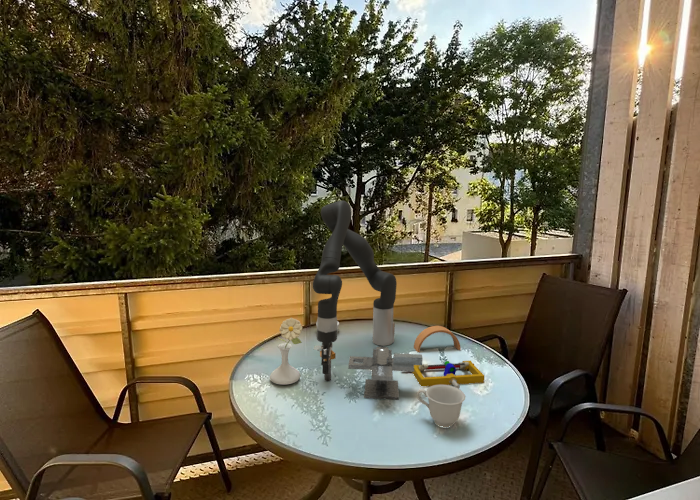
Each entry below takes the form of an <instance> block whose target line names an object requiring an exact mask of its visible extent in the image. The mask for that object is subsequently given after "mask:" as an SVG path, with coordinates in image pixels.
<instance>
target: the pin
mask: <svg viewBox="0 0 700 500" xmlns="http://www.w3.org/2000/svg"><path fill="white" fill-rule="evenodd" d="M321 352H322V351H319V357H320V358H321V359H322V357H321ZM336 357H337V356H336V352H335V351H334V350H332V351H331V358H330V359H329V373H328V374H323V375H324V377H323V378H324V381H325V382H331V381H332V360H335V359H336ZM324 361H327V359H324Z"/></svg>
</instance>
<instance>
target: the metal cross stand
mask: <svg viewBox="0 0 700 500" xmlns="http://www.w3.org/2000/svg"><path fill="white" fill-rule="evenodd" d="M414 365H423V354H415V353H393V352H392V349H390V348H389V347H387V346H381V345H378V346H377V347H376V348H372V356H356V355H355V356H351V355H350V356H349V359H348V367H347V369H349V370H365V371H366V370H369V371H371V379H369V378H368V379H366V378H365V381H364V393H363V399H371V400H373V399H374V400H375V399H376V400H389V401H390V400H393V401H399V400H400V396H399V380H394V379H393V378H394V375H393V372H411V373H412V372H414Z"/></svg>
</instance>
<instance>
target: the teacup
mask: <svg viewBox="0 0 700 500" xmlns="http://www.w3.org/2000/svg"><path fill="white" fill-rule="evenodd" d="M420 394H423V395H424V398H428V401H426V400H424V399H423V398H422V397H421V395H420ZM416 397H417V400H418V401H419V403H421V404H423V405H424V406H425V407H427V409H428V411H429V415H430V417H431V418H432V420H433V421H434V424H435V423H436V424H437V425H439V426H443V427H449V426H452V425H453V426H454V424H455V423H456V422H458V420H459V418H460V415H461V411H462V407H463V406H462V405H463V403H464V401H465V400H466V394H465V392H464V391H463V390H461V389H460V388H459V389H458V388H456V387H455V386H454V385H433V386H428V387H427V388H426V389H424V388H420V389H418V390H417V393H416ZM436 424H435V425H436ZM437 425H436V426H437ZM439 426H438V427H439ZM453 426H452V427H453Z"/></svg>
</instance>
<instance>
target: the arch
mask: <svg viewBox="0 0 700 500" xmlns="http://www.w3.org/2000/svg"><path fill="white" fill-rule="evenodd" d="M436 333H437V334H438V333H446V334H448V335H450V336H451V339H452V342H453V347H455V349H457V351H461V349H462V348H461V343H460V340H459V338H457V336H456V334H454V333H453V332H452V331H450V330H449V329H448V328H446V327H444V326H441V325H433V326H428V327H427V328H425V329H423V330H422V331H421V332H420V333H419V334H418V335H417V337H415V340H414V344H413V349H414V350H415V351H416V353H420V352H421V351H420V350H421V347H422V345H423V343H424V342H425V340H426V339H427V338H428V337H430V336H431V335H434V334H436Z"/></svg>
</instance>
